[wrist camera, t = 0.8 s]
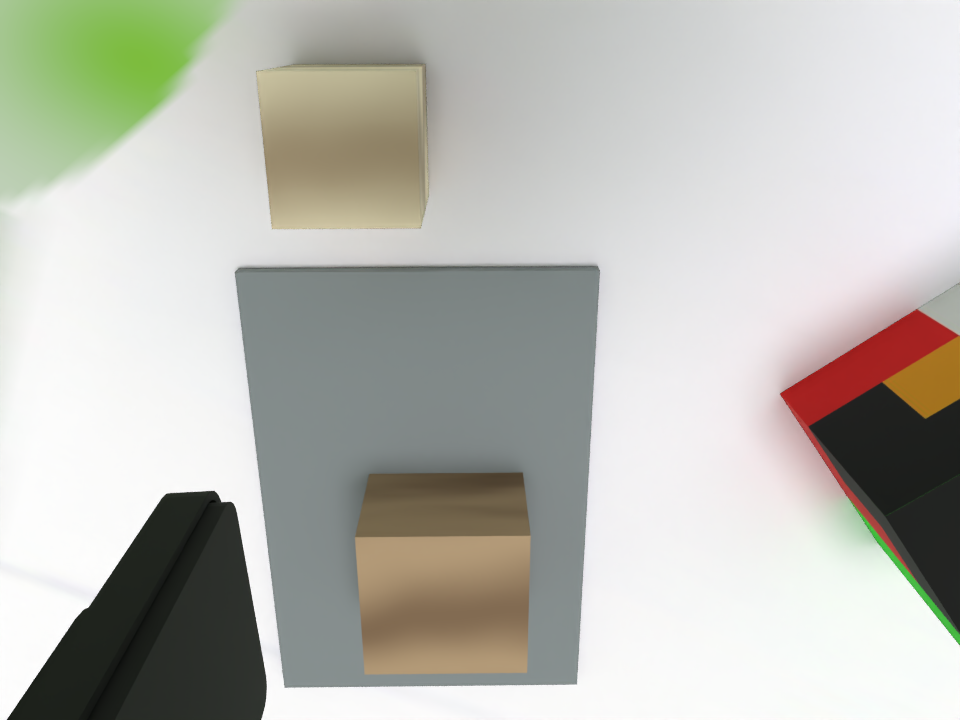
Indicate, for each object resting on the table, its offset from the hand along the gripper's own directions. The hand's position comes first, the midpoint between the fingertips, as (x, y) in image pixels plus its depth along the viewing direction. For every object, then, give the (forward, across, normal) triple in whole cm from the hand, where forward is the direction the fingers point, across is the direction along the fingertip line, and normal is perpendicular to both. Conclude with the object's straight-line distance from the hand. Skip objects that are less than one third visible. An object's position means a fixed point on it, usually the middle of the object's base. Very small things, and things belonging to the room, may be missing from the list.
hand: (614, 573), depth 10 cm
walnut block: (+24, +3, +15) cm, 29 cm away
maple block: (+25, +6, -3) cm, 26 cm away
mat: (+25, +4, +13) cm, 29 cm away
